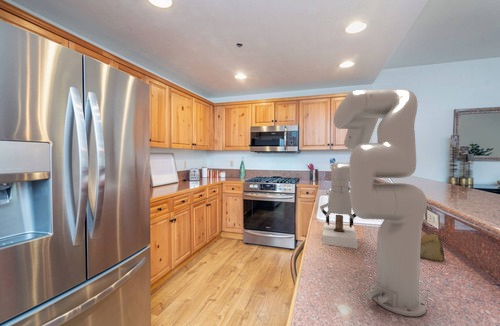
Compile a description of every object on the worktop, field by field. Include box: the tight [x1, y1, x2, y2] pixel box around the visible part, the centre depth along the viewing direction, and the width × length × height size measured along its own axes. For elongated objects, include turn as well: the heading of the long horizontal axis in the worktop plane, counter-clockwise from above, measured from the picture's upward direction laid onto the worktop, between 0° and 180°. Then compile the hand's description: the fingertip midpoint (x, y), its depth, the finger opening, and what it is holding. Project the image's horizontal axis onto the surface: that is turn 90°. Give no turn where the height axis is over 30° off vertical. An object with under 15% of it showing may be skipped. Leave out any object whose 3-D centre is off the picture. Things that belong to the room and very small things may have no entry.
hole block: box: [321, 222, 359, 250], centre depth 102 cm, size 18×14×4 cm
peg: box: [335, 214, 344, 232], centre depth 102 cm, size 3×3×11 cm
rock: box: [420, 233, 445, 262], centre depth 84 cm, size 11×9×10 cm
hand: (339, 225), depth 102 cm, fingers open, 9 cm apart
